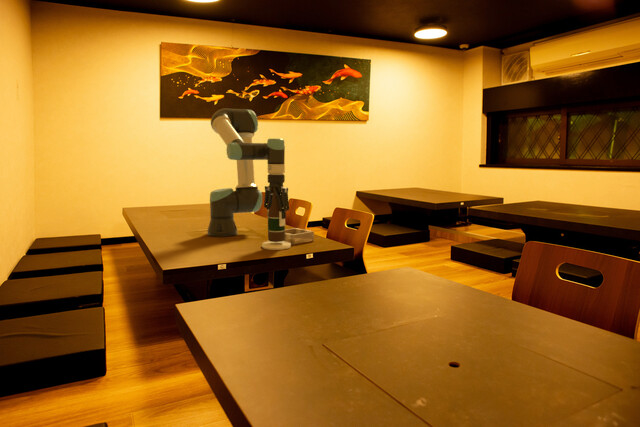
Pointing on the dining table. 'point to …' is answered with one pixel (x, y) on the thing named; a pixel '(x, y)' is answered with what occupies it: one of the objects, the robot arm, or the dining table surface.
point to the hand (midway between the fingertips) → (276, 224)
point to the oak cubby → (298, 236)
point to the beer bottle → (275, 222)
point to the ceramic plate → (276, 245)
